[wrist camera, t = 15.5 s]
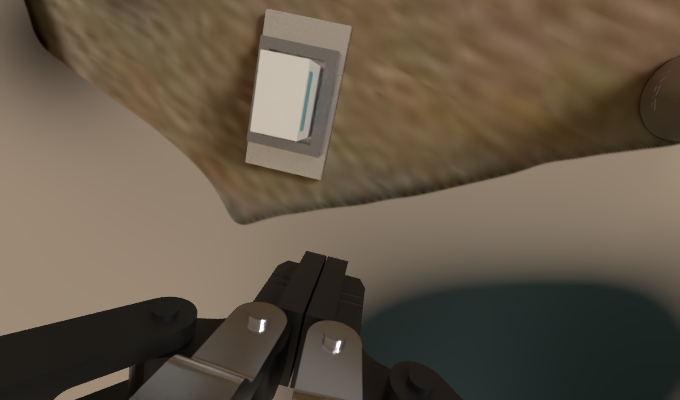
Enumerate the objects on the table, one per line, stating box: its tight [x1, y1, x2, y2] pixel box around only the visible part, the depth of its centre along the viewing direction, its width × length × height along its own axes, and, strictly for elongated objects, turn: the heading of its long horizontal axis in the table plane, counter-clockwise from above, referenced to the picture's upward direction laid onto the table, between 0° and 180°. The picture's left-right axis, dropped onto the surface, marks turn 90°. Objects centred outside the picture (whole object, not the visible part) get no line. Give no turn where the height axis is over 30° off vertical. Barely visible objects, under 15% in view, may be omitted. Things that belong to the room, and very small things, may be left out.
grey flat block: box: [245, 9, 353, 180], centre depth 40 cm, size 10×18×3 cm, turn 168°
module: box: [250, 49, 323, 142], centre depth 37 cm, size 5×8×7 cm, turn 168°
